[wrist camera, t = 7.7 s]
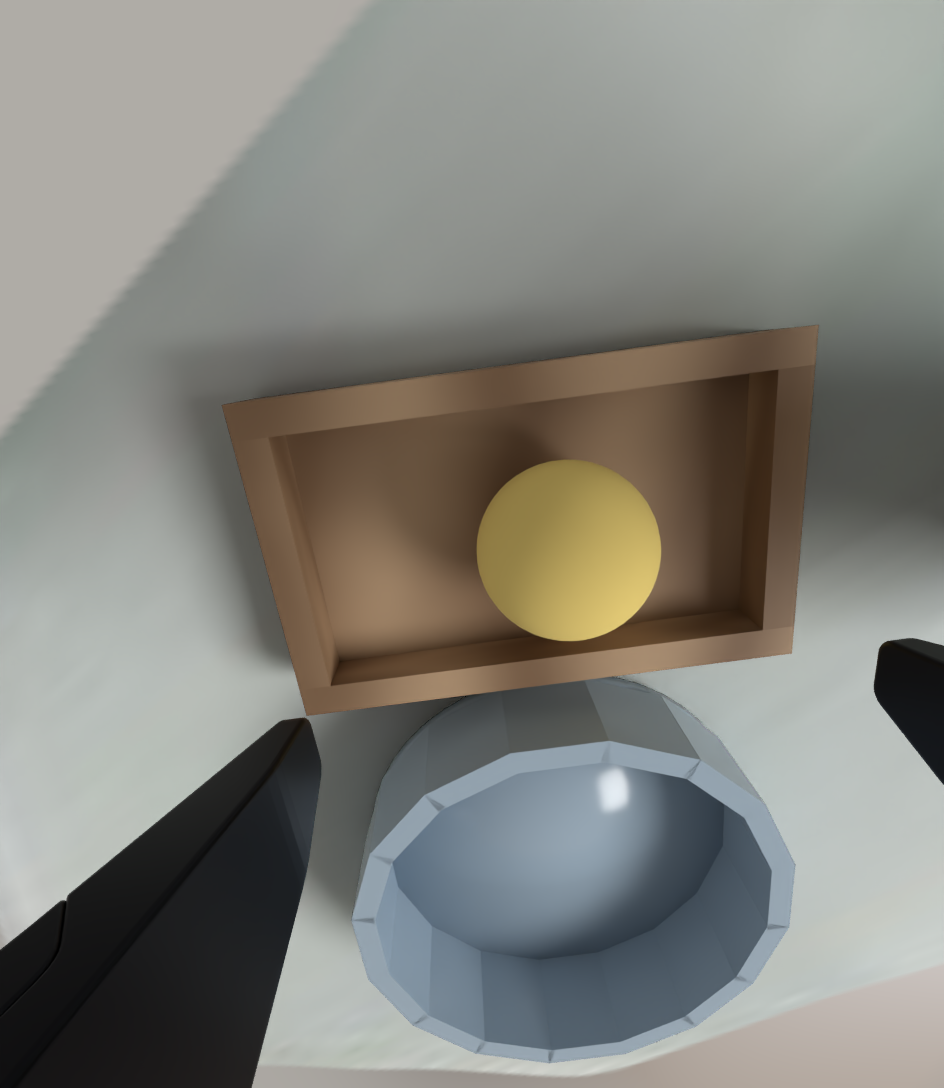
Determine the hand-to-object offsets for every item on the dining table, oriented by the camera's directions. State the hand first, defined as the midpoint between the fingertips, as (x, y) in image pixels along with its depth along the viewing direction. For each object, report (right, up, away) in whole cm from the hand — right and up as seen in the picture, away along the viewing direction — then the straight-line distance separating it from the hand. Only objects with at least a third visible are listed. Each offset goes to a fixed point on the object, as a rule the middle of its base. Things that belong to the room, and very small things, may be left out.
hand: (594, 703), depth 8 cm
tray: (0, +3, +10) cm, 10 cm away
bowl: (+2, -10, +14) cm, 17 cm away
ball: (0, +3, +9) cm, 9 cm away
